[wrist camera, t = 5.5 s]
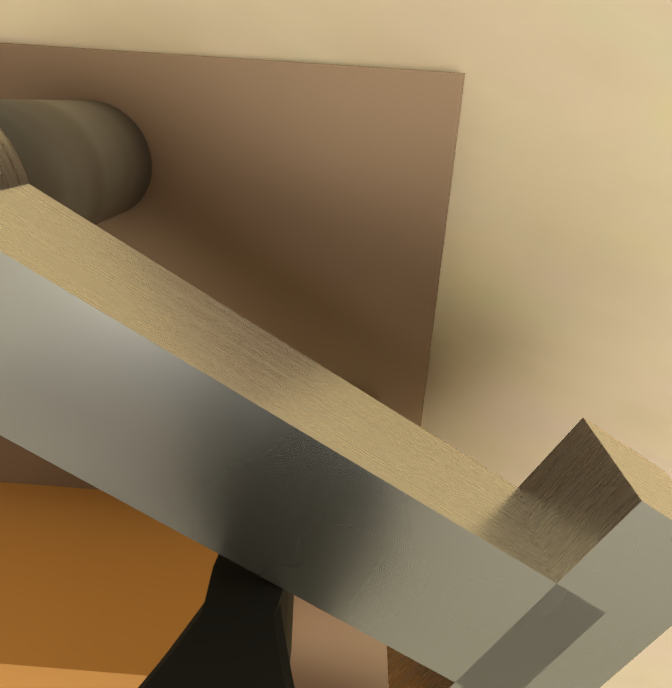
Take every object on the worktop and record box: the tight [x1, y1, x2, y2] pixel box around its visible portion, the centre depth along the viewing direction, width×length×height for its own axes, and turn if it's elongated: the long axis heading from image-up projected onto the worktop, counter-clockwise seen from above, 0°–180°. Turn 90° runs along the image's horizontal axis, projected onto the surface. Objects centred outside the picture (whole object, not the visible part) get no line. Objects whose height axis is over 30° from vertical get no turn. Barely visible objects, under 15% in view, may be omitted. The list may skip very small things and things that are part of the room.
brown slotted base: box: [0, 43, 465, 688], centre depth 13 cm, size 18×14×6 cm
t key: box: [0, 129, 672, 688], centre depth 7 cm, size 11×4×2 cm, turn 57°
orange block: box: [0, 482, 218, 688], centre depth 14 cm, size 4×8×5 cm, turn 86°
